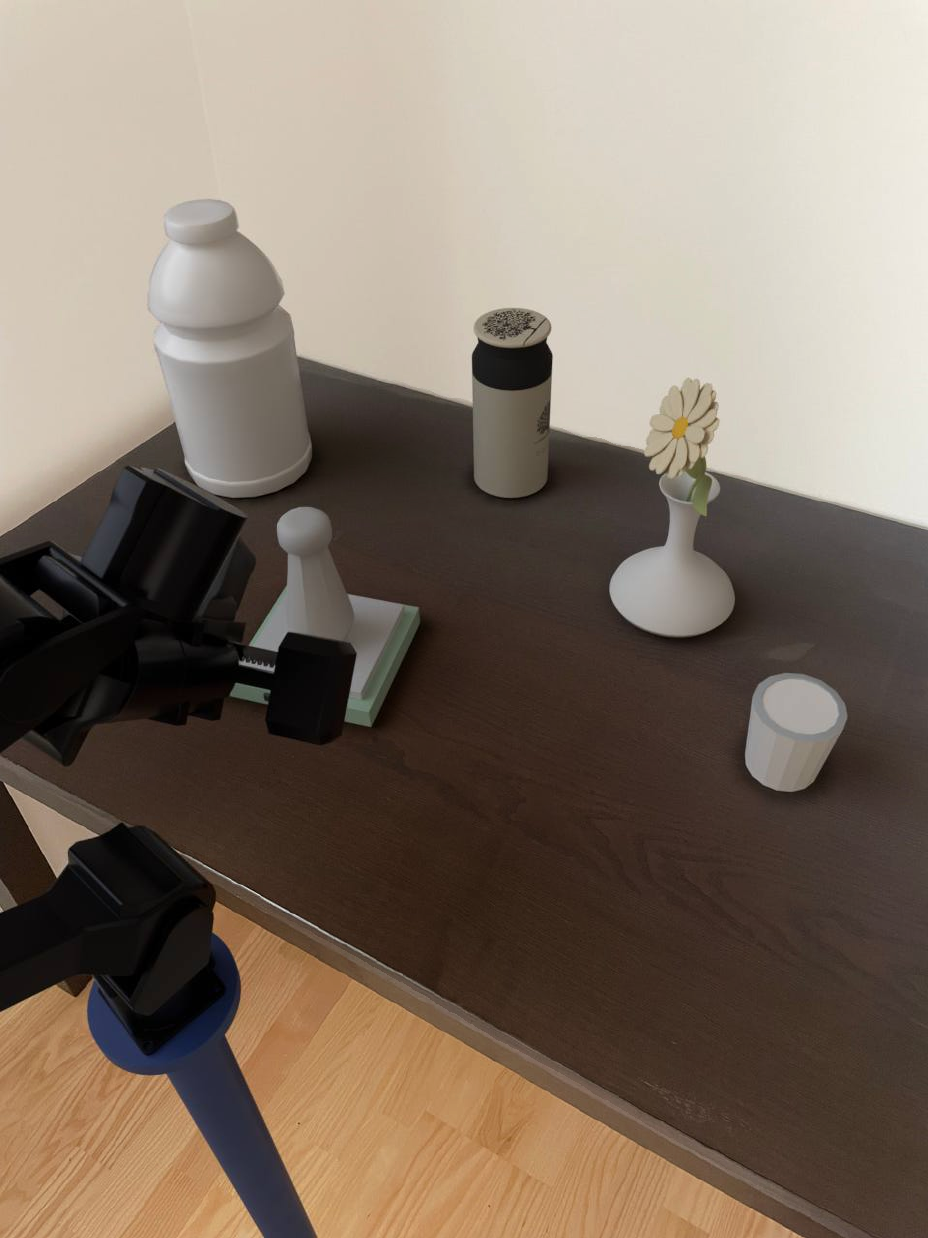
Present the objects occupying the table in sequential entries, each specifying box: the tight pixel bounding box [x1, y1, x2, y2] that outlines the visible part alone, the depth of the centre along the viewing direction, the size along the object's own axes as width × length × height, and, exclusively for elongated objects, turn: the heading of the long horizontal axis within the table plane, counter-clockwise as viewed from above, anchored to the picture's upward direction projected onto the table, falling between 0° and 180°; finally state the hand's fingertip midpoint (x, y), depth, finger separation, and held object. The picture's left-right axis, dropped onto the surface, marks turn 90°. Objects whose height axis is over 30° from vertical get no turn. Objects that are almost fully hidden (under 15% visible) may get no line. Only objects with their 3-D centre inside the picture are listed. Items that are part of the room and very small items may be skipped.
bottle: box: [146, 198, 313, 499], centre depth 99 cm, size 14×14×28 cm
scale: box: [229, 585, 421, 728], centre depth 86 cm, size 13×13×3 cm
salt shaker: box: [276, 506, 354, 641], centre depth 80 cm, size 6×6×13 cm
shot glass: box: [744, 672, 849, 793], centre depth 75 cm, size 7×7×7 cm
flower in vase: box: [609, 377, 736, 638], centre depth 82 cm, size 13×11×25 cm
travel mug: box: [471, 307, 554, 499], centre depth 100 cm, size 8×8×18 cm
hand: (259, 663), depth 68 cm, fingers open, 9 cm apart
